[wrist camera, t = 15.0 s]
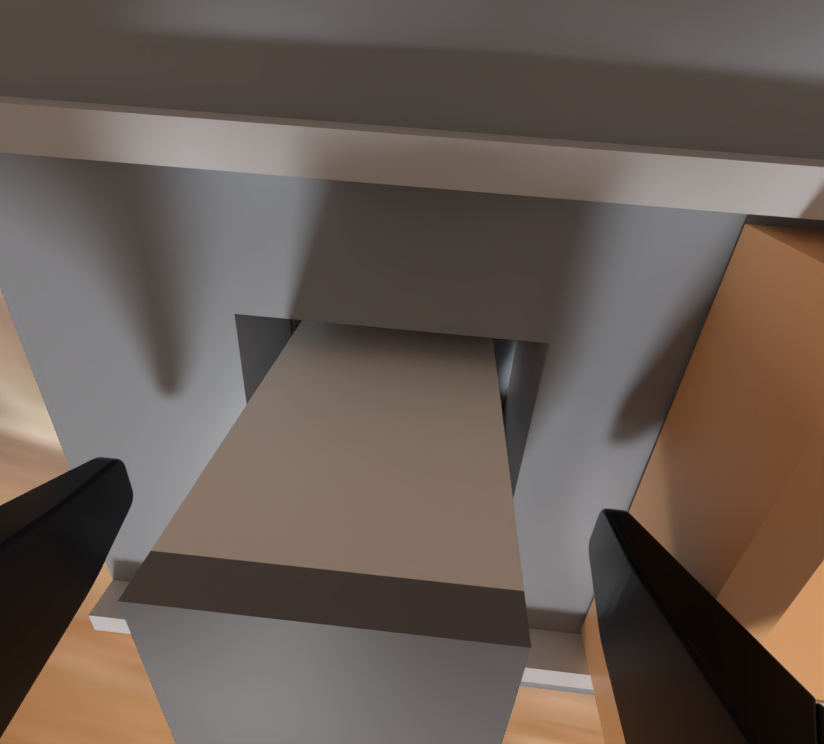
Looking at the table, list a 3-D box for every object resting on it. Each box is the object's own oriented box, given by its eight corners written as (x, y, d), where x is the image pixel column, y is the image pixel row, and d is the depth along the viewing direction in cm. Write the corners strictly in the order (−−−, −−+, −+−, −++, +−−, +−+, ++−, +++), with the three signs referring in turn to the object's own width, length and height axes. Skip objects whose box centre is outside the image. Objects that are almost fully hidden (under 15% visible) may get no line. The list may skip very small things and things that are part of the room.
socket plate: (1363, 37, 8) (2061, 4, 4) (846, 629, 16) (950, 778, 13) (28, -50, 9) (-251, -134, 5) (185, 554, 17) (115, 675, 14)
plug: (489, 308, 11) (531, 647, 5) (469, 442, 14) (479, 816, 7) (319, 293, 12) (116, 601, 5) (325, 429, 14) (190, 778, 7)
